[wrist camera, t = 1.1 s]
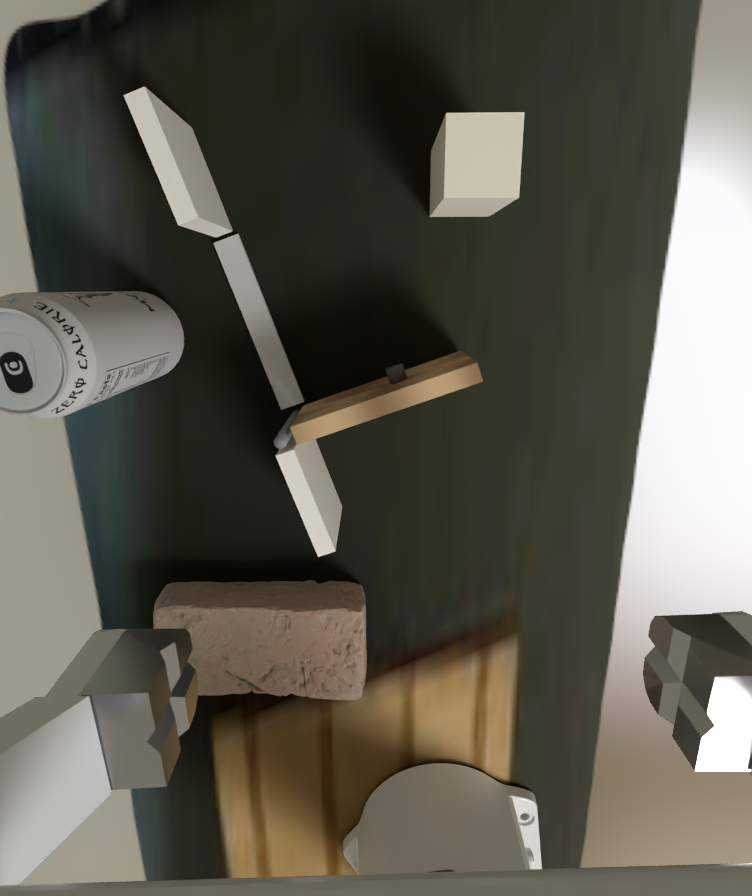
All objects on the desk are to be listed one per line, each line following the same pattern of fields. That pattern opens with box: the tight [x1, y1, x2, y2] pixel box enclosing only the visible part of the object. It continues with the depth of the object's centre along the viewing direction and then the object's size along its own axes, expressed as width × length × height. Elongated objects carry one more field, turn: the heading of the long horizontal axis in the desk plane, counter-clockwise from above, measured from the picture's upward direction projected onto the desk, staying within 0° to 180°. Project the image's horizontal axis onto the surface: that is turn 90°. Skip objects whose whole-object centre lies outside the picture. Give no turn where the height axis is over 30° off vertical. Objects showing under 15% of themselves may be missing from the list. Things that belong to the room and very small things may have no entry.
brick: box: [153, 580, 367, 700], centre depth 44 cm, size 17×8×5 cm, turn 90°
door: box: [290, 351, 483, 445], centre depth 36 cm, size 12×2×6 cm, turn 109°
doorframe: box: [124, 86, 342, 557], centre depth 35 cm, size 28×2×8 cm, turn 19°
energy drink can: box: [0, 291, 184, 419], centre depth 32 cm, size 6×6×15 cm
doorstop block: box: [430, 112, 524, 217], centre depth 32 cm, size 4×4×8 cm
